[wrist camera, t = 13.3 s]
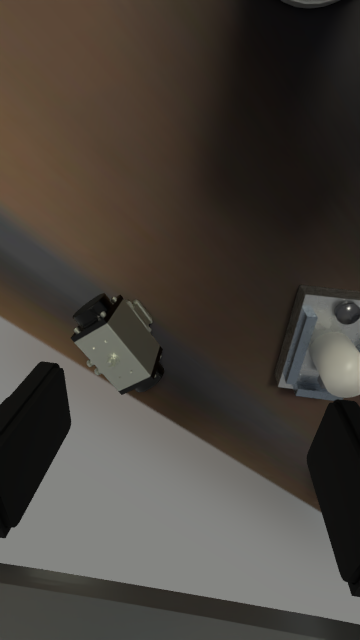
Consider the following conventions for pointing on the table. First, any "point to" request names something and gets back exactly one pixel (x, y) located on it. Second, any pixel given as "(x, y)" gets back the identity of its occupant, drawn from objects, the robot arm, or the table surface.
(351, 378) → the white rounded cylinder
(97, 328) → the pneumatic valve
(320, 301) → the grey fixture tray
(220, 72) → the table surface
